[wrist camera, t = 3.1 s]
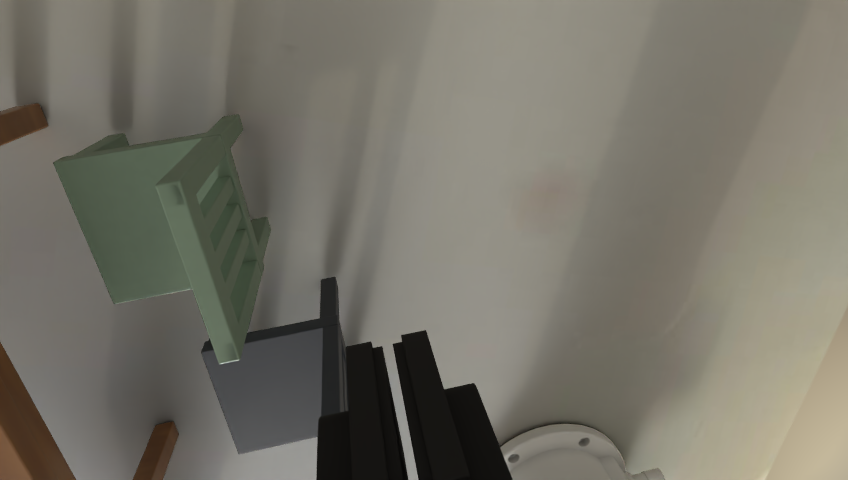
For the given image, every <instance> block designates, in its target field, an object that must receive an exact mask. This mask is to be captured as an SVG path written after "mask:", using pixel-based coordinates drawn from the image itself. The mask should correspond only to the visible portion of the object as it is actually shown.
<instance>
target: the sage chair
mask: <svg viewBox="0 0 848 480" xmlns="http://www.w3.org/2000/svg"><path fill="white" fill-rule="evenodd" d="M242 131H243V127H242V123H241V119H240V116H239V115H238V114H237V115H231V116H225V117H222V118H221V119H220V120H219V121H218V122H217V123H216V124H215V125H214V126H213V127H212V128H211V129H210V130H209V131H208V132H207V133H203V134H197V135H191V136H185V137H179V138H173V139H167V140H161V141H155V142H149V143H143V144H137V145H132V146H129V144H128V141H127V139H126V136H125V134H123V133H122V134H116V135H110V136H107V137H105V138H103V139H102V140H100V141H98V142H96V143H95V144H93V145H91V146H89V147H87V148H86V149H84V150H82V151H80V152H79V153H77V154H75V155H72V156H66V157H63V158H61V159H59V160H57V161H55V162H54V163H53V164H54V166H55V168H56V171H57V173H58V175H59V178H60V180H61V182H62V185H63V187H64V189H65V192H66V194H67V196H68V199H69V201H70V203H71V206H72V208H73V210H74V213H75V215H76V217H77V220H78V222H79V224H80V226H81V229H82V231H83V233H84V236H85V238H86V240H87V243H88V245H89V247H90V250H91V252H92V254H93V257H94V259H95V261H96V264H97V266H98V268H99V271H100V273H101V275H102V278H103V280H104V282H105V284H106V287H107V289H108V291H109V294H110V296H111V298H112V301H113V303H114V304H118V303H123V302H128V301H133V300H139V299H144V298H149V297H154V296H159V295H165V294H170V293H175V292H180V291H185V290H190V289H192V290H193V293H194V296H195V298H196V301H197V304H198V307H199V310H200V312H201V315H202V318H203V321H204V324H205V326H206V329H207V332H208V335H209V338H210V340H211V343H212V346H213V349H214V352H215V354H216V357H217V360H218V363H219V364H224V363H229V362H234V361H239V360H240V358H241V355H242V351H243V347H244V343H245V339H246V335H247V331H248V327H249V323H250V319H251V316H252V312H253V308H254V304H255V300H256V296H257V292H258V288H259V284H260V281H261V277H262V273H263V270H264V264H263V258H264V254H265V250H266V247H267V243H268V239H269V236H270V232H271V228H270V225H269V221H268V218H267V217H263V218H258V219H253V220H252V221H251V220H250V216H249V213H248V209H247V206H246V202H245V199H244V195H243V192H242V189H241V185H240V182H239V178H238V175H237V171H236V168H235V164H234V161H233V157H232V154H231V151H230V148H231V146H232V145H233V144H234V142H235V141H236V140H237V138H238V137H239V135H240V134H241V133H242Z"/></svg>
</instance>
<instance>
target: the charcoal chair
mask: <svg viewBox="0 0 848 480" xmlns="http://www.w3.org/2000/svg"><path fill="white" fill-rule="evenodd" d="M201 354H202V356H203V359H204V362H205V364H206V367H207V370H208V373H209V375H210V378H211V381H212V383H213V386H214V389H215V391H216V394H217V397H218V400H219V402H220V405H221V408H222V410H223V413H224V416H225V418H226V421H227V424H228V427H229V429H230V432H231V435H232V437H233V440H234V443H235V445H236V448H237V451H238V454H244V453H248V452H253V451H257V450H262V449H266V448H271V447H275V446H280V445H284V444H289V443H293V442H298V441H302V440H307V439H311V438H316V437H318V420H319V417H321V416H326V415H330V414H335V413H339V412H344V411H349V404H348V384H347V363H346V347H345V343H344V339H343V335H342V330H341V326H340V322H339V298H338V286H337V281H336V277H331V278H326V279H322V280H321V299H320V318H319V319H314V320H309V321H305V322H300V323H295V324H290V325H285V326H280V327H275V328H270V329H265V330H260V331H255V332H250V333H247V335H246V339H245V343H244V347H243V351H242V355H241V358H240V360H239V361H234V362H229V363H224V364H219V363H218V360H217V357H216V354H215V352H214V349H213V346H212V343H211V340H210V338H209V341H206V342H205V343H204V346H203V348H202V351H201Z"/></svg>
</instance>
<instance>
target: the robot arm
mask: <svg viewBox="0 0 848 480" xmlns="http://www.w3.org/2000/svg"><path fill="white" fill-rule="evenodd" d="M401 337H402V342H400V343H395V344H393V348H394V353H395V358H396V363H397V369H398V374H399V379H400V384H401V389H402V395H403V400H404V405H405V410H406V416H407V421H408V426H409V431H410V437H411V442H412V447H413V452H414V458H415V463H416V468H417V473H418V478H419V480H665V478H664V475H663V474H662V472H661V470H660V469H659V468H656V469H652V470H648V471H643V472H641V473H639V474H635V475H631V474H630V473H628V472H627V471H626V465H625V462H624V460H623V458H622V455H621V453H620V452H619V450H618V449H617V448H616V446H615V445H614V443H613V442H612V441H611V440H610V439H609V438H608V437H607V436H605V435H604V434H603V433H601V432H599V431H597V430H595V429H593V428H590V427H586V426H583V425H576V424H555V425H548V426H544V427H539V428H535V429H533V430H530V431H528V432H525V433H522V434H520V435H519V436H517V437H515V438H513V439H511V440H510V441H508V442H507V443H505V444H504V445H503V446H501V447H500V446H499V443H498V441H497V438H496V436H495V433H494V431H493V428H492V426H491V423H490V420H489V418H488V415H487V413H486V410H485V408H484V405H483V403H482V400H481V397H480V395H479V392H478V390H477V388H476V385H475V384H474V383H472V384H467V385H463V386H458V387H454V388H449V389H444V388H443V385H442V382H441V378H440V375H439V372H438V368H437V365H436V362H435V358H434V355H433V352H432V349H431V345H430V342H429V339H428V335H427V332H426V330H424V331H420V332H415V333H410V334H405V335H401ZM346 363H347V384H348V404H349V411H344V412H339V413H335V414H330V415H326V416H321V417H319V420H318V446H317V480H408V475H407V469H406V463H405V458H404V452H403V447H402V441H401V436H400V432H399V427H398V422H397V417H396V412H395V407H394V402H393V397H392V392H391V387H390V382H389V377H388V372H387V367H386V363H385V358H384V353H383V348H382V346H381V347H376V348H373V347H372V343H371V342H367V343H362V344H357V345H352V346H347V347H346Z"/></svg>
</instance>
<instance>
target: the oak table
mask: <svg viewBox="0 0 848 480" xmlns="http://www.w3.org/2000/svg"><path fill="white" fill-rule="evenodd" d="M47 126H48V123H47V121H46V119H45V116H44V114H43V111H42V109H41V107H40V105H39V104H38V103H35V104H29V105H23V106H16V107H13V108H9V109H6V110H3V111H0V146H1V145H4V144H6V143H9V142H11V141H14V140H16V139H19V138H21V137H23V136H26V135H28V134H31V133H33V132H36V131H38V130H41V129H43V128H45V127H47ZM178 436H179V433H178V431H177V429H176V426H175V424H174V422H173V421H172V422H167V423H163V424H158V425H155V428H154V430H153V432H152V435H151V437H150V439H149V442H148V444H147V447H146V449H145V451H144V454H143V456H142V458H141V461H140V463H139V466H138V468H137V470H136V473H135V475H134V477H133V480H163V478H164V475H165V472H166V469H167V466H168V464H169V461H170V458H171V455H172V452H173V450H174V447H175V444H176V441H177V438H178ZM0 480H76V479H75V477H74V475H73V473H72V472H71V470H70V468H69V466H68V464H67V462H66V461H65V459H64V457H63V455H62V453H61V452H60V450H59V448H58V446H57V444H56V442H55V441H54V439H53V437H52V435H51V433H50V431H49V430H48V428H47V426H46V424H45V422H44V421H43V419H42V417H41V415H40V413H39V411H38V410H37V408H36V406H35V404H34V402H33V401H32V399H31V397H30V395H29V393H28V391H27V390H26V388H25V386H24V384H23V382H22V380H21V379H20V377H19V375H18V373H17V371H16V370H15V368H14V366H13V364H12V362H11V360H10V359H9V357H8V355H7V353H6V351H5V350H4V348H3V346H2V344H1V342H0Z"/></svg>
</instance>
